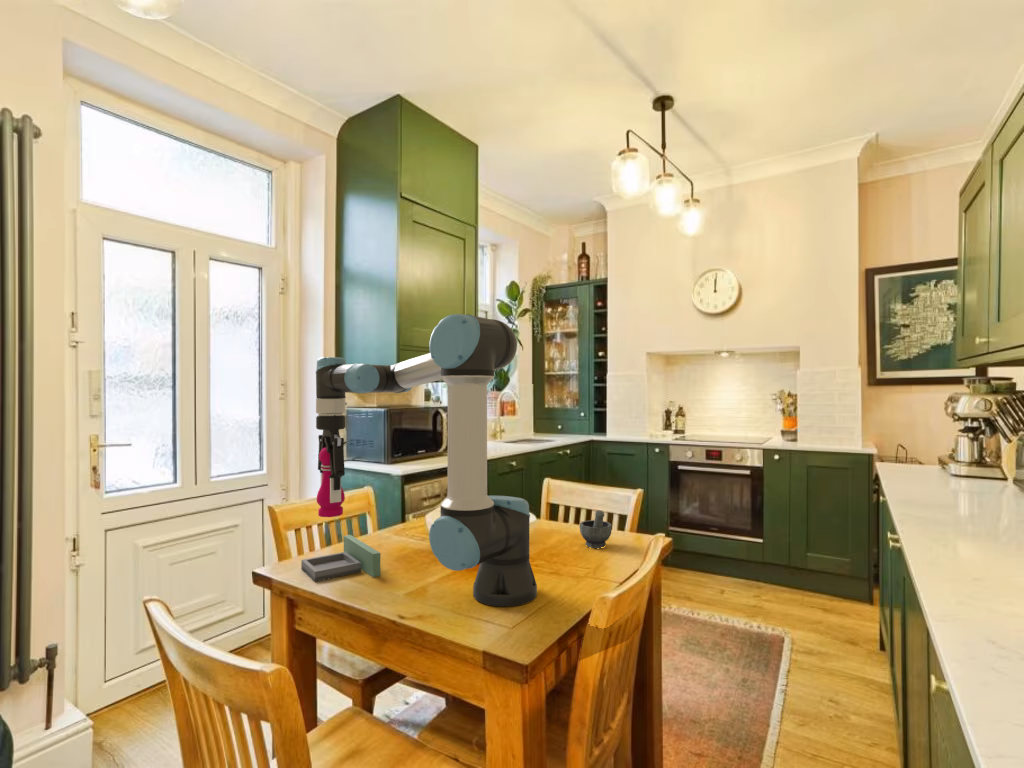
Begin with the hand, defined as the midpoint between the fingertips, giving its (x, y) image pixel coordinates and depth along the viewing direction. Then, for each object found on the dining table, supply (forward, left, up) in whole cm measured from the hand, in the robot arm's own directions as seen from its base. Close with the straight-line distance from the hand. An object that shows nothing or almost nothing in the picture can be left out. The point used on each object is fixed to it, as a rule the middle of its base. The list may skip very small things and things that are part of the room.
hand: (330, 499), depth 144 cm
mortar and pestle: (-28, -73, -19) cm, 80 cm away
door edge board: (-1, -8, -19) cm, 21 cm away
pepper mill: (0, 0, -4) cm, 4 cm away
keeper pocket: (0, 0, -19) cm, 19 cm away
